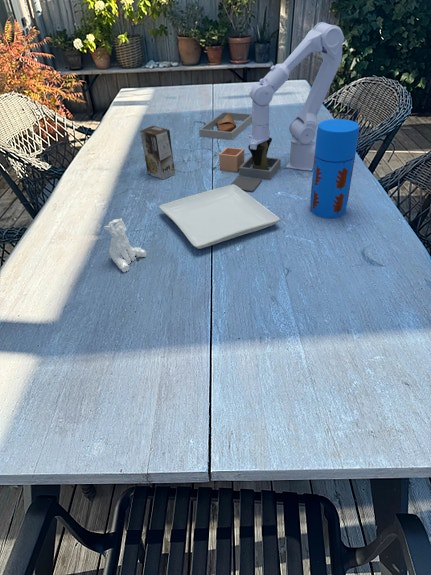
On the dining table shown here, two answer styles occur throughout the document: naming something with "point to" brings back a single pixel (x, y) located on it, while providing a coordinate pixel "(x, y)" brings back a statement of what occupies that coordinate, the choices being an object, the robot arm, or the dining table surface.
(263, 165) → the cork
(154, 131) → the coffee box
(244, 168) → the grey rectangular frame
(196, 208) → the square plate
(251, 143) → the robot arm
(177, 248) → the dining table surface
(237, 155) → the terracotta pot
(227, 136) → the dark grey tray
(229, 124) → the sunglasses case
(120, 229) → the sitting furry creature
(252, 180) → the dark grey rubber mat
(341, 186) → the thermos
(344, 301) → the dining table surface
